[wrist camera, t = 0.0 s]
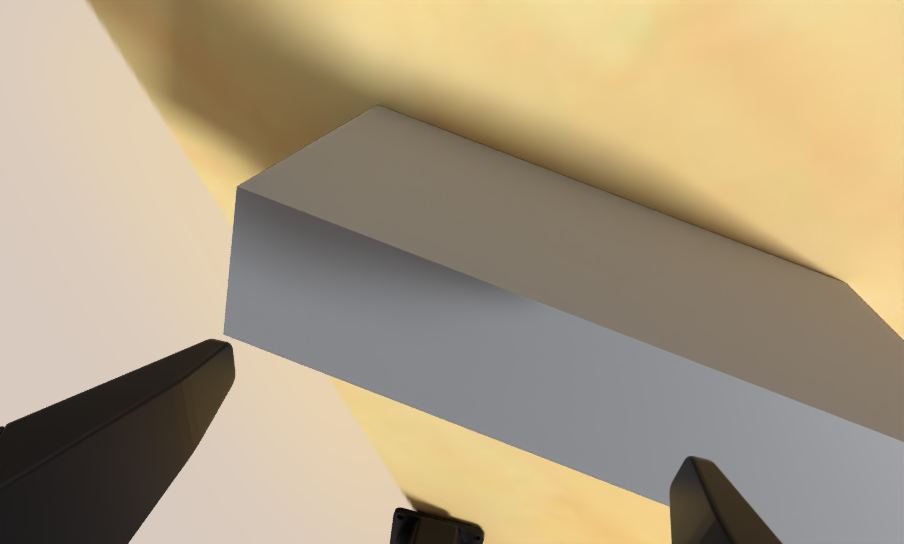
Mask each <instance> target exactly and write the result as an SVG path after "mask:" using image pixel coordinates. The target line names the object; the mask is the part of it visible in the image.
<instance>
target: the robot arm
mask: <svg viewBox="0 0 904 544" xmlns="http://www.w3.org/2000/svg"><path fill="white" fill-rule="evenodd" d="M234 379H235V365H234V356H233V348H232V346H231V344H229V343H228V342H224V341H220V340H216V339H208V340H205V341H203V342H201V343H198V344H196V345H194V346H191V347H189V348H186V349H184V350H182V351H179V352H177V353H175V354H172V355H170V356H168V357H165V358H163V359H160V360H158V361H156V362H153V363H151V364H149V365H146V366H144V367H141V368H139V369H137V370H134V371H132V372H129V373H127V374H125V375H122V376H120V377H118V378H115V379H113V380H110V381H108V382H106V383H103V384H101V385H99V386H96V387H94V388H92V389H89V390H87V391H84V392H82V393H80V394H77V395H75V396H72V397H70V398H68V399H66V400H63V401H61V402H58V403H56V404H54V405H51V406H49V407H46V408H44V409H41V410H39V411H37V412H34V413H32V414H30V415H27V416H25V417H23V418H20V419H18V420H15V421H13V422H10V423H8V424H7V425H6V426H5V427H3V426H2V427H0V544H128V543H129V541H130V540H131V539H132V537H133V536H134V535H135V533H136V532H137V530H138V529H139V528H140V526H141V525H142V523H143V522H144V521H145V519H146V518H147V516H148V515H149V514H150V512H151V511H152V510H153V508H154V507H155V505H156V504H157V503H158V501H159V500H160V498H161V497H162V496H163V494H164V493H165V491H166V490H167V489H168V487H169V486H170V485H171V483H172V482H173V480H174V479H175V478H176V476H177V475H178V473H179V472H180V471H181V469H182V468H183V466H184V465H185V464H186V462H187V461H188V459H189V458H190V456H191V455H192V454H193V452H194V450H195V449H196V447H197V445H198V444H199V442H200V441H201V439H202V437H203V436H204V434H205V432H206V430H207V428H208V427H209V425H210V423H211V422H212V420H213V418H214V416H215V415H216V413H217V411H218V409H219V407H220V406H221V404H222V402H223V401H224V399H225V397H226V395H227V393H228V392H229V390H230V388H231V387H232V385H233V382H234ZM669 500H670V519H671V538H672V544H783V543H782V542H781V541H780V540H779V538H778V537H777V536H776V535H775V534H774V533H773V531H772V530H771V529H770V528H769V527H768V526H767V524H766V523H765V522H764V521H763V520H762V518H761V517H760V516H759V515H758V514H757V513H756V511H755V510H754V509H753V508H752V507H751V505H750V504H749V503H748V502H747V501H746V500H745V498H744V497H743V496H742V495H741V494H740V492H739V491H738V490H737V489H736V488H735V487H734V485H733V484H732V483H731V482H730V481H729V479H728V478H727V477H726V476H725V475H724V474H723V472H722V471H721V470H720V469H719V468H718V467H717V465H716V464H715V463H714V462H712V461H711V460H708V459H704V458H700V457H696V456H688V457H687V458H686V459H685V460H684V461H683V463H682V465H681V467H680V469H679V470H678V472H677V474H676V476H675V477H674V479H673V481H672V483H671V486H670V492H669ZM484 535H485V534H484V531H483V530H481V529H479V528H475V527H472V526H468V525H464V524H461V523H457V522H453V521H449V520H446V519H442V518H438V517H435V516H431V515H427V514H423V513H420V512H416V511H412V510H409V509H404V508H396V510H395V512H394V515H393V523H392V531H391V539H390V544H483V541H484Z"/></svg>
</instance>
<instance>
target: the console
mask: <svg viewBox="0 0 904 544" xmlns="http://www.w3.org/2000/svg"><path fill="white" fill-rule="evenodd" d="M224 335H226V336H229V337H232V338H234V339H237V340H239V341H242V342H245V343H247V344H250V345H252V346H255V347H258V348H260V349H263V350H265V351H268V352H270V353H273V354H276V355H278V356H281V357H283V358H286V359H289V360H291V361H294V362H297V363H299V364H301V365H304V366H307V367H309V368H312V369H314V370H317V371H320V372H322V373H325V374H327V375H330V376H333V377H335V378H338V379H340V380H343V381H346V382H348V383H351V384H353V385H356V386H358V387H361V388H364V389H366V390H369V391H371V392H374V393H377V394H379V395H382V396H384V397H387V398H390V399H392V400H395V401H397V402H400V403H403V404H405V405H408V406H410V407H413V408H415V409H418V410H421V411H423V412H426V413H428V414H431V415H434V416H436V417H439V418H441V419H444V420H447V421H449V422H452V423H454V424H457V425H460V426H462V427H465V428H467V429H470V430H472V431H475V432H478V433H480V434H483V435H485V436H488V437H491V438H493V439H496V440H498V441H501V442H504V443H506V444H509V445H511V446H514V447H517V448H519V449H522V450H524V451H527V452H529V453H532V454H535V455H537V456H540V457H542V458H545V459H548V460H550V461H553V462H555V463H558V464H561V465H563V466H566V467H568V468H571V469H574V470H576V471H579V472H581V473H584V474H586V475H589V476H592V477H594V478H597V479H599V480H602V481H605V482H607V483H610V484H612V485H615V486H618V487H620V488H623V489H625V490H628V491H631V492H633V493H636V494H638V495H641V496H643V497H646V498H649V499H651V500H654V501H656V502H659V503H662V504H664V505H667V506H669V507H670V500H669V492H670V486H671V483H672V481H673V479H674V477H675V476H676V474H677V472H678V470H679V469H680V467H681V465H682V463H683V461H684V460H685V459H686V458H687V457H688V456H696V457H700V458H704V459H708V460H711V461H712V462H714V463H715V464H716V465H717V467H718V468H719V469H720V470H721V471H722V472H723V474H724V475H725V476H726V477H727V478H728V479H729V481H730V482H731V483H732V484H733V485H734V487H735V488H736V489H737V490H738V491H739V492H740V494H741V495H742V496H743V497H744V498H745V500H746V501H747V502H748V503H749V504H750V505H751V507H752V508H753V509H754V510H755V511H756V513H757V514H758V515H759V516H760V517H761V518H762V520H763V521H764V522H765V523H766V524H767V526H768V527H769V528H770V529H771V530H772V531H773V533H774V534H775V535H776V536H777V537H778V538H779V540H780V541H781V542H782V543H783V544H904V340H903V339H902V338H901V337H900V336H899V335H898V334H897V333H896V332H895V331H894V330H893V329H892V328H891V327H890V326H889V325H888V324H887V323H886V322H885V321H884V320H883V319H882V318H881V317H880V316H879V315H878V314H877V313H876V312H875V311H874V310H873V309H872V308H871V307H870V306H869V305H868V304H867V303H866V302H865V301H864V300H863V299H862V298H861V297H860V296H859V295H858V294H857V293H856V292H855V291H854V290H853V289H852V288H851V287H850V286H849V285H848V284H847V283H844V282H842V281H839V280H836V279H834V278H831V277H828V276H826V275H823V274H821V273H818V272H815V271H813V270H810V269H807V268H805V267H802V266H800V265H797V264H794V263H792V262H789V261H786V260H784V259H781V258H779V257H776V256H773V255H771V254H768V253H765V252H763V251H760V250H758V249H755V248H752V247H750V246H747V245H745V244H742V243H739V242H737V241H734V240H731V239H729V238H726V237H724V236H721V235H718V234H716V233H713V232H710V231H708V230H705V229H703V228H700V227H697V226H695V225H692V224H689V223H687V222H684V221H682V220H679V219H676V218H674V217H671V216H668V215H666V214H663V213H661V212H658V211H655V210H653V209H650V208H647V207H645V206H642V205H640V204H637V203H634V202H632V201H629V200H626V199H624V198H621V197H619V196H616V195H613V194H611V193H608V192H605V191H603V190H600V189H598V188H595V187H592V186H590V185H587V184H585V183H582V182H579V181H577V180H574V179H571V178H569V177H566V176H564V175H561V174H558V173H556V172H553V171H550V170H548V169H545V168H543V167H540V166H537V165H535V164H532V163H529V162H527V161H524V160H522V159H519V158H516V157H514V156H511V155H508V154H506V153H503V152H501V151H498V150H495V149H493V148H490V147H487V146H485V145H482V144H480V143H477V142H474V141H472V140H469V139H466V138H464V137H461V136H459V135H456V134H453V133H451V132H448V131H445V130H443V129H440V128H438V127H435V126H432V125H430V124H427V123H425V122H422V121H419V120H417V119H414V118H411V117H409V116H406V115H404V114H401V113H398V112H396V111H393V110H390V109H388V108H385V107H383V106H380V105H376V106H374V107H372V108H371V109H369V110H367V111H366V112H364V113H362V114H360V115H359V116H357V117H355V118H354V119H352V120H350V121H348V122H347V123H345V124H343V125H342V126H340V127H338V128H336V129H335V130H333V131H331V132H330V133H328V134H326V135H324V136H323V137H321V138H319V139H317V140H316V141H314V142H312V143H311V144H309V145H307V146H305V147H304V148H302V149H300V150H299V151H297V152H295V153H293V154H292V155H290V156H288V157H287V158H285V159H283V160H281V161H280V162H278V163H276V164H275V165H273V166H271V167H269V168H268V169H266V170H264V171H262V172H261V173H259V174H257V175H256V176H254V177H252V178H250V179H249V180H247V181H245V182H244V183H242V184H240V185H238V186H237V191H236V202H235V213H234V224H233V235H232V247H231V257H230V268H229V279H228V290H227V301H226V313H225V323H224Z"/></svg>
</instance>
